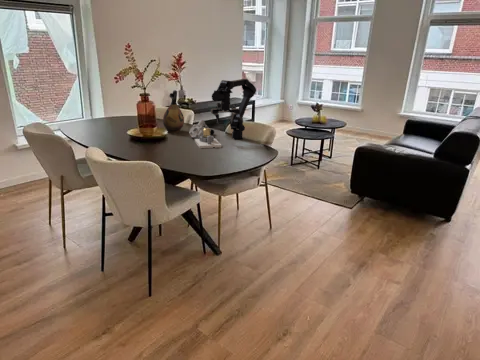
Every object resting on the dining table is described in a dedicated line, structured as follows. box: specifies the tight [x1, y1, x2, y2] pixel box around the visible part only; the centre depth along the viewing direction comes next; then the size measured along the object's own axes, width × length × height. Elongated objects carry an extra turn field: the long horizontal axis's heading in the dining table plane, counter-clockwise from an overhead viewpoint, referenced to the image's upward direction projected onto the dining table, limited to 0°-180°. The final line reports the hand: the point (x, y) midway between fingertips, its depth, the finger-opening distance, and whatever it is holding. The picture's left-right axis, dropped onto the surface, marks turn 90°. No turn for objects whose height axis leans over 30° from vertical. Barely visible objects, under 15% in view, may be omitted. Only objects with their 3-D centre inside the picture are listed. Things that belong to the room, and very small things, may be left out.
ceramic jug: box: [162, 89, 185, 134], centre depth 252 cm, size 17×15×30 cm
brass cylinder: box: [203, 127, 211, 138], centre depth 227 cm, size 4×4×8 cm
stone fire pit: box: [194, 135, 222, 149], centre depth 224 cm, size 14×18×6 cm
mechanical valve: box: [188, 119, 215, 140], centre depth 244 cm, size 10×18×15 cm
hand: (225, 124), depth 229 cm, fingers open, 9 cm apart
